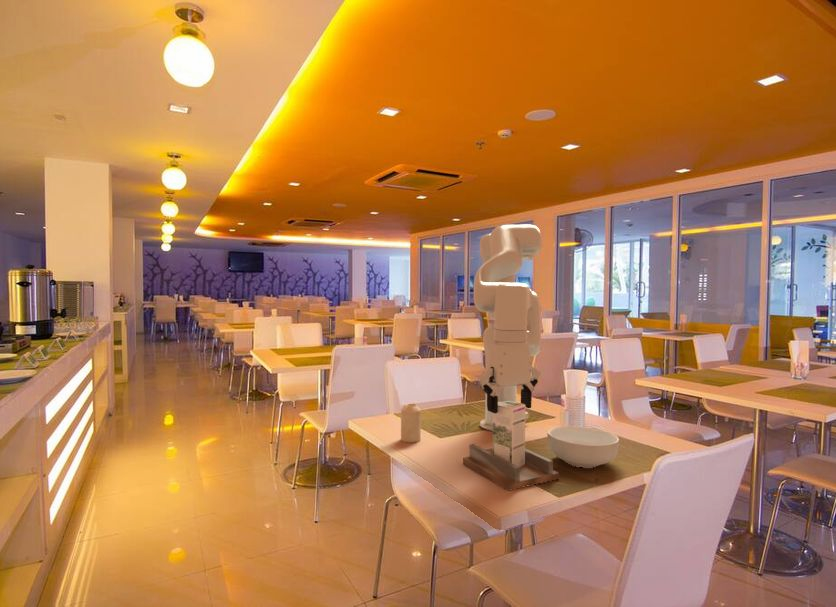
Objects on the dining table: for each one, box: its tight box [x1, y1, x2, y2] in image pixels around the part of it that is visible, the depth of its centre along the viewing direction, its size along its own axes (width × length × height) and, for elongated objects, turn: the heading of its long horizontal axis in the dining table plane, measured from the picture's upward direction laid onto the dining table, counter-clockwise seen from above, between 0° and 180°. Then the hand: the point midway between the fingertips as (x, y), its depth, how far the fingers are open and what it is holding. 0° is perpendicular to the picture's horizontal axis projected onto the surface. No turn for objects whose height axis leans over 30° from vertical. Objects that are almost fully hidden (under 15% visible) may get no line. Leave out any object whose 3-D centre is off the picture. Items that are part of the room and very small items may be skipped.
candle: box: [400, 403, 422, 444], centre depth 141 cm, size 6×6×10 cm
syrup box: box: [491, 401, 526, 467], centre depth 117 cm, size 6×6×14 cm
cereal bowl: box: [547, 426, 620, 469], centre depth 123 cm, size 17×17×7 cm
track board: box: [462, 443, 560, 491], centre depth 117 cm, size 14×18×4 cm
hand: (509, 409), depth 117 cm, fingers open, 9 cm apart
